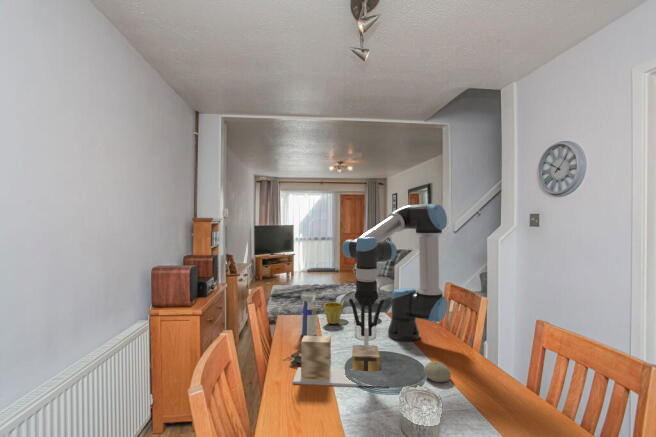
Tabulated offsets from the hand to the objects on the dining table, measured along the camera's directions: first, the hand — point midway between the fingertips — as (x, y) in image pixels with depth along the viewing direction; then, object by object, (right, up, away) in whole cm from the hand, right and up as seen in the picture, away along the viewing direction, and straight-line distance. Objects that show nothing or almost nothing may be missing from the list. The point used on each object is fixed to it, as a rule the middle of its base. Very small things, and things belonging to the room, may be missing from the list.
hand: (366, 344), depth 120 cm
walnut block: (0, -8, +1) cm, 8 cm away
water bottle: (-23, -12, +46) cm, 53 cm away
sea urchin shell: (+26, -12, +2) cm, 29 cm away
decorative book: (-23, -12, +13) cm, 29 cm away
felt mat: (-9, -12, -1) cm, 15 cm away
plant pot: (-11, -12, +65) cm, 67 cm away
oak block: (-18, -11, 0) cm, 21 cm away
